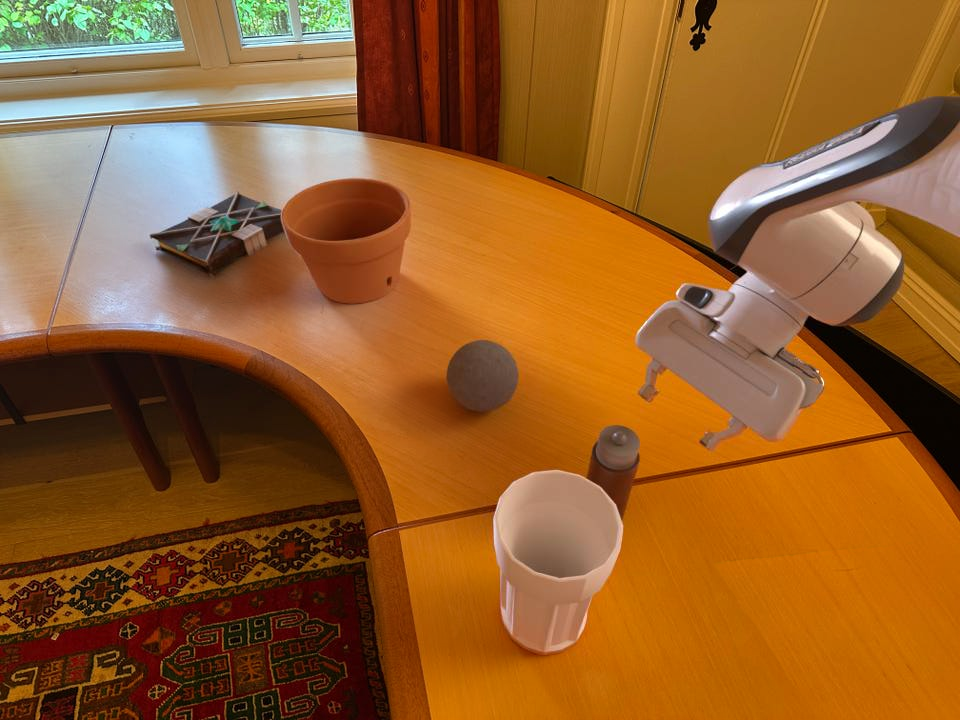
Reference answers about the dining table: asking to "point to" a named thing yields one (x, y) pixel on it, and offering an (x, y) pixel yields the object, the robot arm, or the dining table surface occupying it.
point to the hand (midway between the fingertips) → (673, 421)
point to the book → (221, 233)
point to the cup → (553, 556)
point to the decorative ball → (482, 376)
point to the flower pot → (350, 236)
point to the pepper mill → (615, 463)
